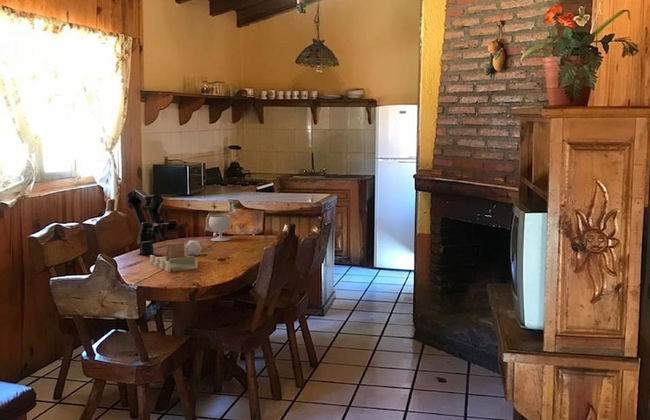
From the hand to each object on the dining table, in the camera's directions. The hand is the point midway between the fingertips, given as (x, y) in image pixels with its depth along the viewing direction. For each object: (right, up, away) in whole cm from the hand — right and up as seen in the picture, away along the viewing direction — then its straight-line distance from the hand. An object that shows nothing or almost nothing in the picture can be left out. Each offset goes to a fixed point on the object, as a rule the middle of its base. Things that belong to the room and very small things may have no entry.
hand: (163, 239), depth 344 cm
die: (+11, -10, +20) cm, 25 cm away
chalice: (+19, -4, +68) cm, 70 cm away
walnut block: (+9, -10, -11) cm, 18 cm away
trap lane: (+7, -13, -8) cm, 17 cm away
